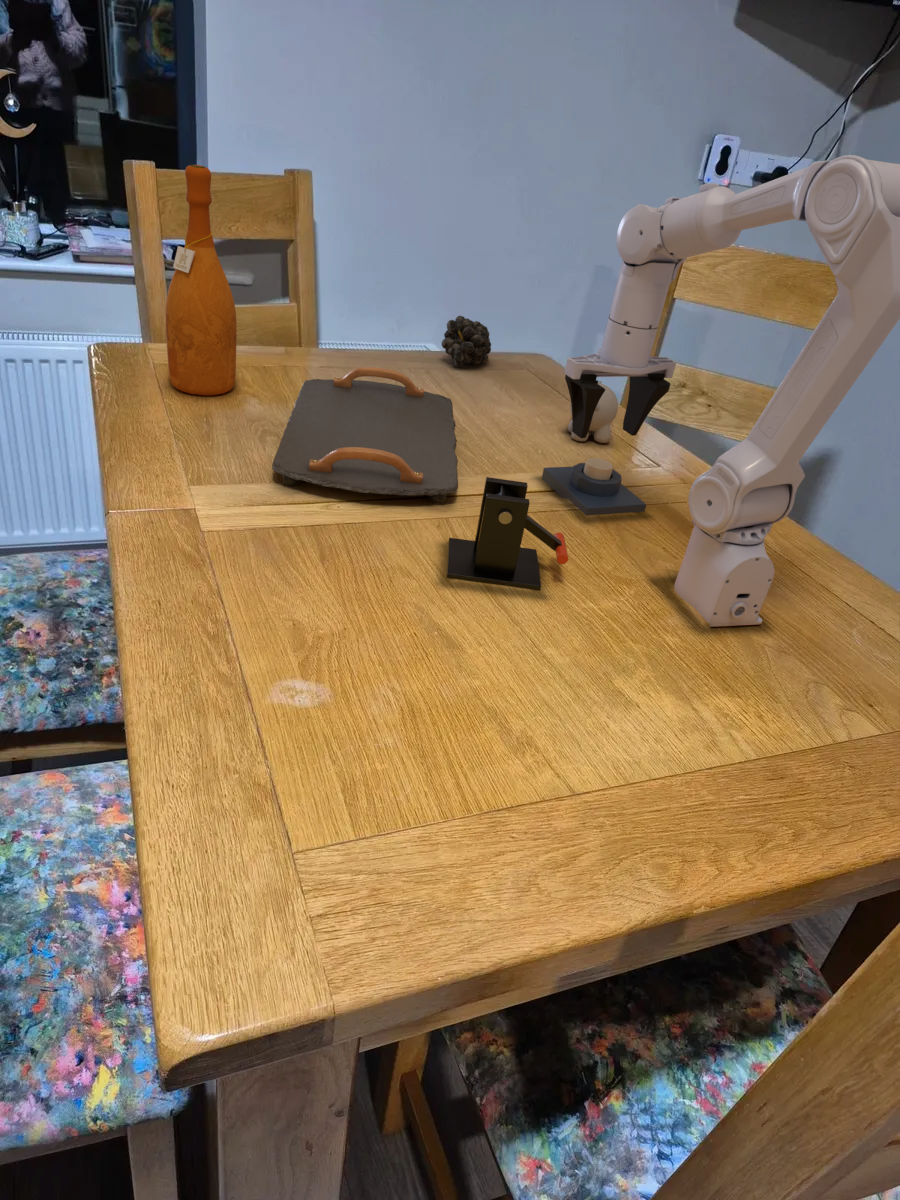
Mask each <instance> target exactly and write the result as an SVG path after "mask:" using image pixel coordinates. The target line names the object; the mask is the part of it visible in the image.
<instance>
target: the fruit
mask: <svg viewBox="0 0 900 1200" xmlns="http://www.w3.org/2000/svg"><path fill="white" fill-rule="evenodd" d="M446 329H447V330H446V331H445V332H444V333H443V336H444V338H443V339H442V341H441V347H442V349H444V351H445V354H446V355H449V356H450V358H451V359H452V360H453V361H454V366H455V367H458V368H461V367H463V366H464V364H466V365H467V364H470V363H471V362H472V363H473V364H476V365H477V364H480V363H486V362H487V361H488V359H489V354H490V353H491V351H492V343H491V340H490V331H489V329H488V326H486V325H484V324H483V323H481V322H480V321H477V320H475V321H473V320H471V319H470V318H465V316H463V315H457V316H456V318H455V320H454V319H450V320H447V323H446Z"/></svg>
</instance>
